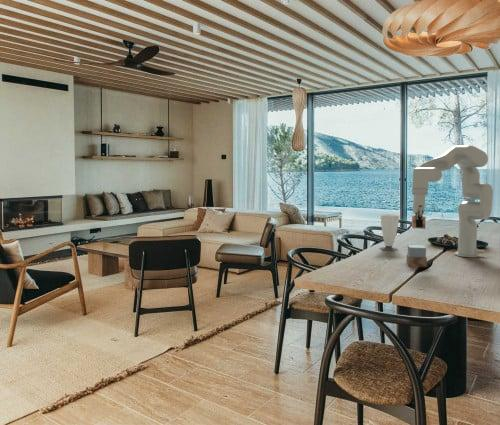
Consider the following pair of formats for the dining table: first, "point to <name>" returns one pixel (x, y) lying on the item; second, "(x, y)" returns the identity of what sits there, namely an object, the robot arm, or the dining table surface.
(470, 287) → the dining table surface
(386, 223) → the cup
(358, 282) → the dining table surface
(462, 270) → the dining table surface
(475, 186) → the robot arm
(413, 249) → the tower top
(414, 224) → the terracotta cube
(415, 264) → the tower base
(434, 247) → the dining table surface
